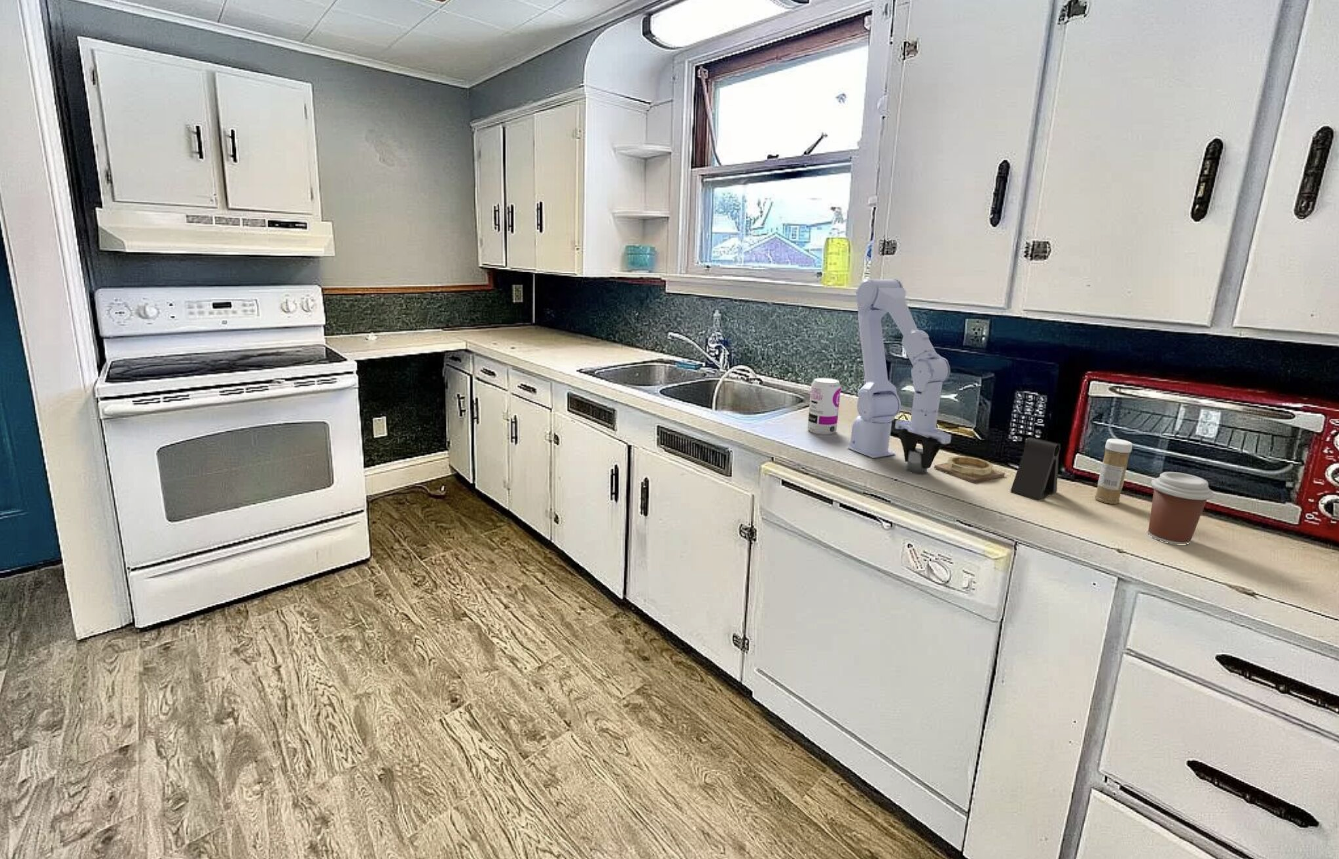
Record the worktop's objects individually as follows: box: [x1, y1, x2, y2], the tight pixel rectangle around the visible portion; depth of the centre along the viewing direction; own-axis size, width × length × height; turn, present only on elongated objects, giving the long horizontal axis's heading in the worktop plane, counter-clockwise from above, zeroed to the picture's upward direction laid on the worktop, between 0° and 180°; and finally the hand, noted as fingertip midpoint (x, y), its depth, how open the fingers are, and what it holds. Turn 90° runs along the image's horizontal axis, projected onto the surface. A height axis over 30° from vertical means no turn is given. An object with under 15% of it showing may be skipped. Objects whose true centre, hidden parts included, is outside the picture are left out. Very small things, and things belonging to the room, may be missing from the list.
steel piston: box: [906, 447, 928, 475], centre depth 153 cm, size 5×5×5 cm
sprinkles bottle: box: [1094, 438, 1134, 505], centre depth 136 cm, size 5×5×13 cm
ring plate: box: [933, 455, 1006, 484], centre depth 153 cm, size 11×11×2 cm
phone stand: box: [1009, 436, 1061, 501], centre depth 140 cm, size 9×6×12 cm, turn 127°
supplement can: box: [807, 377, 842, 436], centre depth 183 cm, size 8×8×15 cm
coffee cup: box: [1147, 471, 1214, 545], centre depth 119 cm, size 9×9×12 cm
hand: (917, 464), depth 153 cm, fingers closed on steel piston, 5 cm apart
